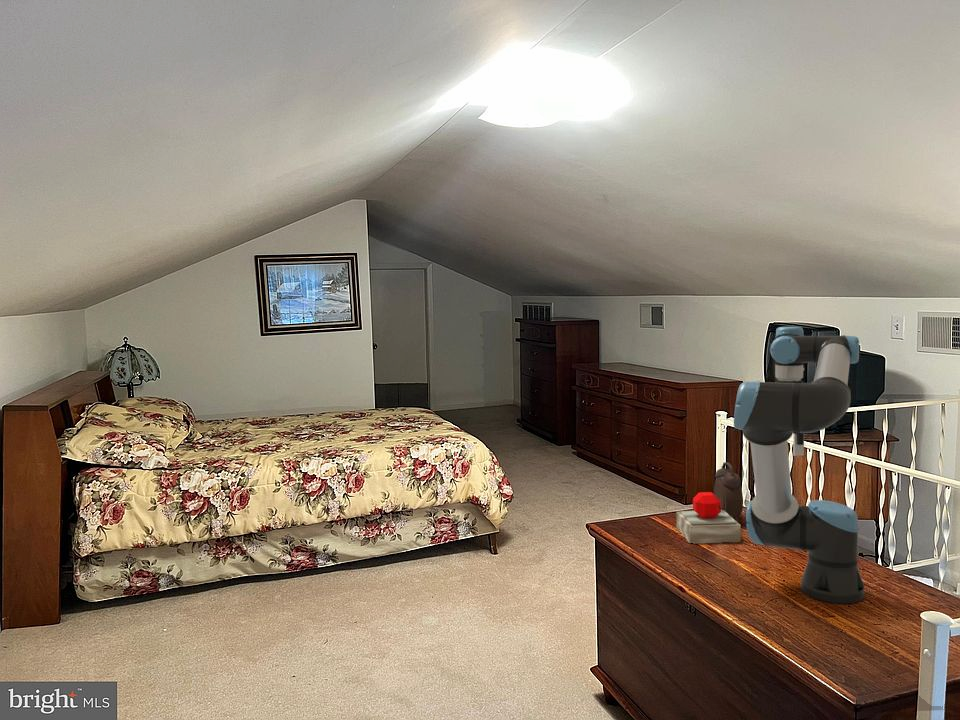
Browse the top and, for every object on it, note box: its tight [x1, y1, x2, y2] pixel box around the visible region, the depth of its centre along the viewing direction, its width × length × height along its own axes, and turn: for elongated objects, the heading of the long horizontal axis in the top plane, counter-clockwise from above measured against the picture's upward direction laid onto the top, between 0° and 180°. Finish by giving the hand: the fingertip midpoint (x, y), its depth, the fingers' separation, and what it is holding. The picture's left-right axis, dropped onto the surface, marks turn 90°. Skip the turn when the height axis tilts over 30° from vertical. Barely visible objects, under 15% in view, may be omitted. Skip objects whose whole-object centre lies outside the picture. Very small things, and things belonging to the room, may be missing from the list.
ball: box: [692, 491, 721, 519], centre depth 241 cm, size 8×8×8 cm
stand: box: [675, 510, 742, 544], centre depth 241 cm, size 16×16×6 cm
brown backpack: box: [713, 461, 744, 523], centre depth 256 cm, size 15×7×20 cm, turn 179°
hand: (788, 450), depth 219 cm, fingers open, 13 cm apart
